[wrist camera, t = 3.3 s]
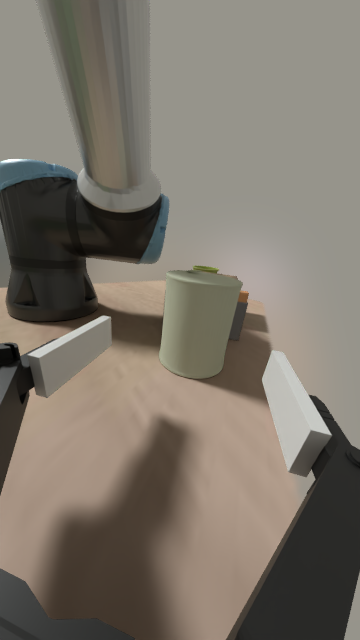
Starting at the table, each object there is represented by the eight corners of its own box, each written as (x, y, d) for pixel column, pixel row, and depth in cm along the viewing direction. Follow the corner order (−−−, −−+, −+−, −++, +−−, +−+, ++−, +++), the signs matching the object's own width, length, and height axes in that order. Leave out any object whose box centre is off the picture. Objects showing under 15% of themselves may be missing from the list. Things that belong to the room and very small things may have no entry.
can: (201, 339, 32) (214, 268, 28) (237, 371, 24) (262, 281, 20) (150, 345, 28) (155, 264, 24) (174, 386, 21) (188, 279, 16)
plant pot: (202, 295, 62) (206, 269, 59) (184, 289, 69) (187, 265, 65) (219, 293, 68) (224, 269, 65) (201, 287, 74) (205, 265, 71)
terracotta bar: (167, 289, 33) (168, 280, 33) (169, 288, 35) (170, 279, 34) (246, 302, 31) (248, 293, 30) (245, 300, 32) (247, 291, 32)
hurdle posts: (162, 325, 36) (165, 289, 33) (166, 321, 38) (169, 287, 35) (238, 340, 33) (247, 303, 31) (237, 335, 35) (246, 300, 33)
